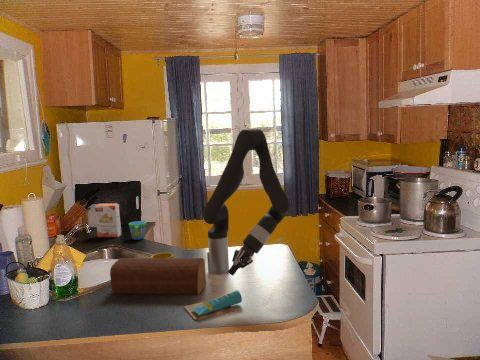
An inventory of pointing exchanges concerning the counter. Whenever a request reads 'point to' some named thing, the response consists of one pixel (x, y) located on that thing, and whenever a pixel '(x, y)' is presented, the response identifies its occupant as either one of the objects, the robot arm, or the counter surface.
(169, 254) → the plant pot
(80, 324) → the counter surface
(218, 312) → the cork mat
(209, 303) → the tube
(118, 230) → the cracker box
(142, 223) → the snack cup
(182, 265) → the bread
